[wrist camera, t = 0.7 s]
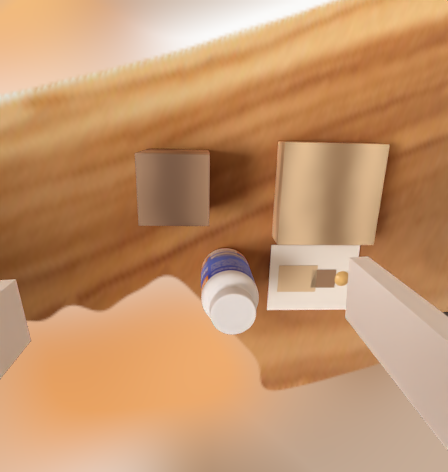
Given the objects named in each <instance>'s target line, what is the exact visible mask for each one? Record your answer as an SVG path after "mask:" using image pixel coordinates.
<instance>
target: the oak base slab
mask: <svg viewBox="0 0 448 472" xmlns="http://www.w3.org/2000/svg"><path fill="white" fill-rule="evenodd" d="M389 147H390V145H389V144H377V143H337V142H292V141H278V153H277V167H276V182H275V197H274V212H273V227H272V237H273V238H274V240H275V242H276V243H277V245H374V240H375V233H376V227H377V221H378V215H379V209H380V202H381V196H382V190H383V184H384V178H385V171H386V165H387V159H388V153H389Z"/></svg>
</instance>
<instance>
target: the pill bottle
mask: <svg viewBox="0 0 448 472" xmlns="http://www.w3.org/2000/svg"><path fill="white" fill-rule="evenodd" d="M201 300H202V306H203V308H204V311H205V312H206V314H207V315H208V316H209V317H210V318H211V321H212V323H213V325H214V326H215V328H217V329H218V330H219V331H221V332H223V333H226V334H239V333H242V332H244V331H246V330H247V329H249V328H250V327H251V326H252V324H253V323H254V321H255V318H256V308H257V305H258V301H259V294H258V289H257V286H256V284H255V281H254V278H253V276H252V273H251V270H250V267H249V264H248V262H247V260H246V258H245V257H244V256H243V255H242V254H241V253H240V252H238V251H236V250H234V249H230V248H221V249H218V250H215V251H213V252H211V253H210V254H209V255H208V256H207V257H206V258H205V260H204V262H203V264H202V268H201Z"/></svg>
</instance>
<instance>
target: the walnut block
mask: <svg viewBox="0 0 448 472" xmlns="http://www.w3.org/2000/svg"><path fill="white" fill-rule="evenodd" d="M135 167H136V186H137V205H138V224H139V226H209V188H210V153H209V150H186V149H146V150H143V151H140V152H137V153H135Z"/></svg>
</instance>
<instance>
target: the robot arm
mask: <svg viewBox="0 0 448 472" xmlns="http://www.w3.org/2000/svg"><path fill="white" fill-rule="evenodd" d="M345 318H346V319H347V321H348V322H349V323H350V325H351V326H352V327H353V329H354V330H355V331H356V332H357V334H358V335H359V336H360V338H361V339H362V340H363V341H364V343H365V344H366V345H367V347H368V348H369V349H370V351H371V352H372V353H373V354H374V356H375V357H376V358H377V360H378V361H379V362H380V364H381V365H382V366H383V367H384V369H385V370H386V371H387V373H388V374H389V375H390V376H391V378H392V379H393V380H394V382H395V383H396V384H397V386H398V387H399V388H400V389H401V391H402V392H403V393H404V395H405V396H406V397H407V399H408V400H409V401H410V402H411V403H412V405H413V406H414V408H415V409H416V410H417V411H418V413H419V414H420V415H421V417H422V418H423V419H424V421H425V422H426V423H427V425H428V426H429V427H430V428H431V430H432V431H433V432H434V434H435V435H436V436H437V438H438V439H439V440H440V441H441V443H442V444H443V445H444V446H445V448H446V449H447V451H448V312H441V311H440V310H438V309H437V308H436V307H434V306H433V305H432V304H430V303H429V302H428V301H427V300H425V299H424V298H423V297H421V296H420V295H419V294H417V293H416V292H415V291H413V290H412V289H411V288H409V287H408V286H407V285H405V284H404V283H403V282H401V281H400V280H399V279H397V278H396V277H395V276H393V275H392V274H391V273H389V272H388V271H387V270H385V269H384V268H383V267H381V266H380V265H379V264H377V263H376V262H375V261H373V260H372V259H371V258H370V257H368V256H366V257H350V258H349V271H348V285H347V299H346V313H345ZM30 342H31V339H30V334H29V330H28V326H27V322H26V318H25V314H24V310H23V306H22V302H21V298H20V294H19V290H18V286H17V282H16V279H11V280H0V379H1V378H2V376H3V375H4V374H5V373H6V371H7V370H8V369H9V368H10V366H11V365H12V364H13V363H14V361H15V360H16V359H17V358H18V357H19V355H20V354H21V353H22V352H23V350H24V349H25V348H26V347H27V345H28V344H29V343H30Z"/></svg>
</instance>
